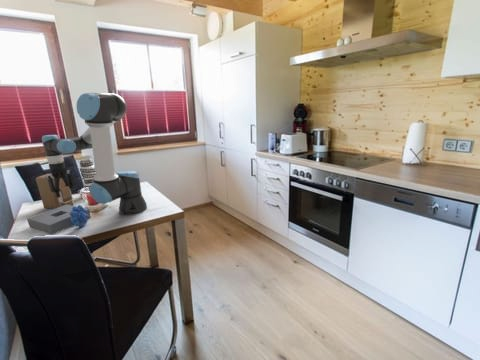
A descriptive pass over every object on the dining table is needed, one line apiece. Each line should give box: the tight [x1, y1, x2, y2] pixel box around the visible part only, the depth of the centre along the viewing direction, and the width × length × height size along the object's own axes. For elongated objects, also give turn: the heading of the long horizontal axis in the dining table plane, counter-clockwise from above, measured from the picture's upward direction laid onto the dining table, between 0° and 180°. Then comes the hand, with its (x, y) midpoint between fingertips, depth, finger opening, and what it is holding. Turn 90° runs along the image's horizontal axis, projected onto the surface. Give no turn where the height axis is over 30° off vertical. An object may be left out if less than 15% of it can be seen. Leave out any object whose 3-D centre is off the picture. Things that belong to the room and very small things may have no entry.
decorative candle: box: [78, 158, 96, 189], centre depth 175 cm, size 9×9×25 cm
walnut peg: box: [59, 185, 75, 206], centre depth 151 cm, size 5×5×14 cm
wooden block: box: [35, 173, 66, 209], centre depth 157 cm, size 10×10×20 cm
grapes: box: [70, 204, 88, 228], centre depth 128 cm, size 12×7×12 cm, turn 178°
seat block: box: [26, 204, 92, 235], centre depth 135 cm, size 20×20×5 cm
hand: (66, 200), depth 152 cm, fingers closed on walnut peg, 5 cm apart
